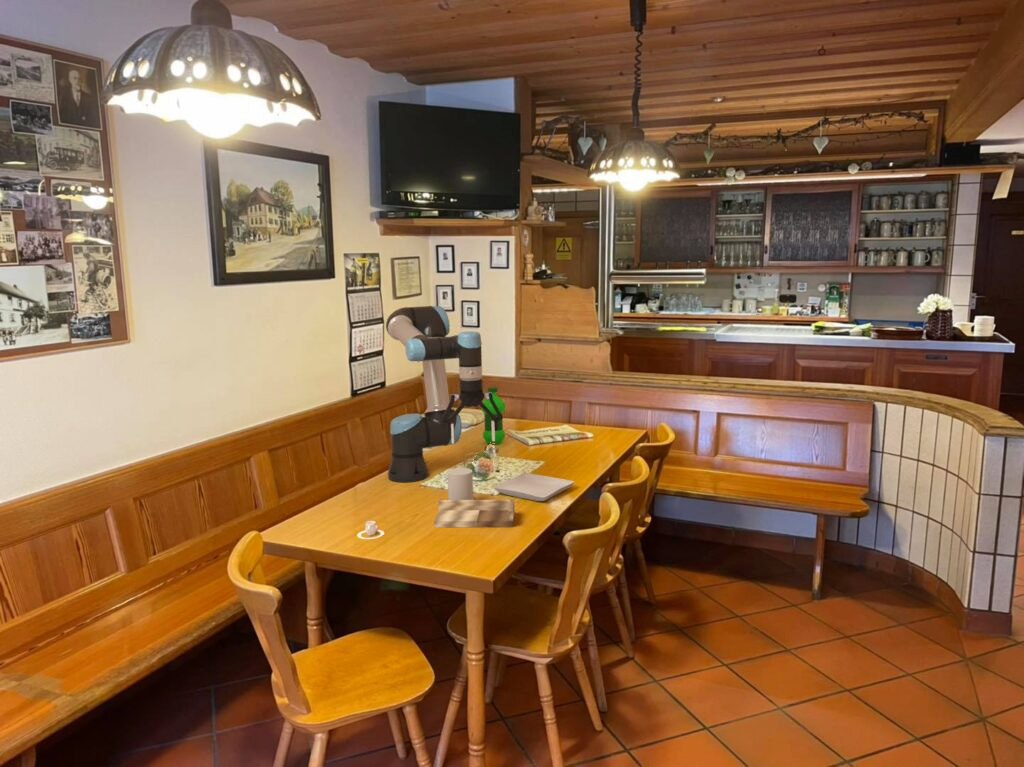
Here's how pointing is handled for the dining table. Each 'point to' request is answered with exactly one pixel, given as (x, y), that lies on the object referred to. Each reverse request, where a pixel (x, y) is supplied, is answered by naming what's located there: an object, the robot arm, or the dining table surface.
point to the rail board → (475, 513)
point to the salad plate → (533, 486)
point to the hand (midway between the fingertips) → (473, 441)
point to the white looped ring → (370, 530)
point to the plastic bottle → (488, 428)
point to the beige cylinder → (460, 484)
